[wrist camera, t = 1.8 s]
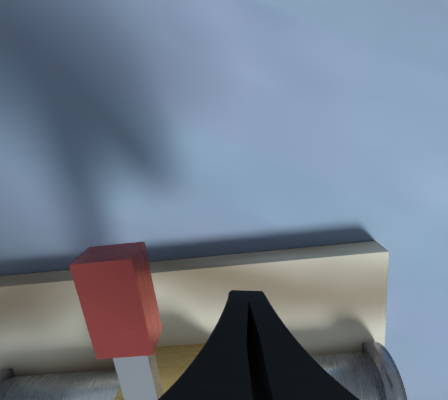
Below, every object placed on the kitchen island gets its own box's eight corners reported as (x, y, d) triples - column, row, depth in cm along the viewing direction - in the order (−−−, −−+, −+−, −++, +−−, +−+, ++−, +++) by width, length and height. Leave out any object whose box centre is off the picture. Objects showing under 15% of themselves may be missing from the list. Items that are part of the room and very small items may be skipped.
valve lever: (194, 472, 14) (190, 509, 13) (148, 474, 14) (139, 511, 13) (147, 241, 11) (134, 258, 9) (86, 247, 11) (66, 265, 9)
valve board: (369, 421, 21) (380, 443, 19) (44, 439, 22) (31, 461, 21) (375, 240, 17) (388, 251, 16) (-20, 277, 19) (-41, 290, 17)
